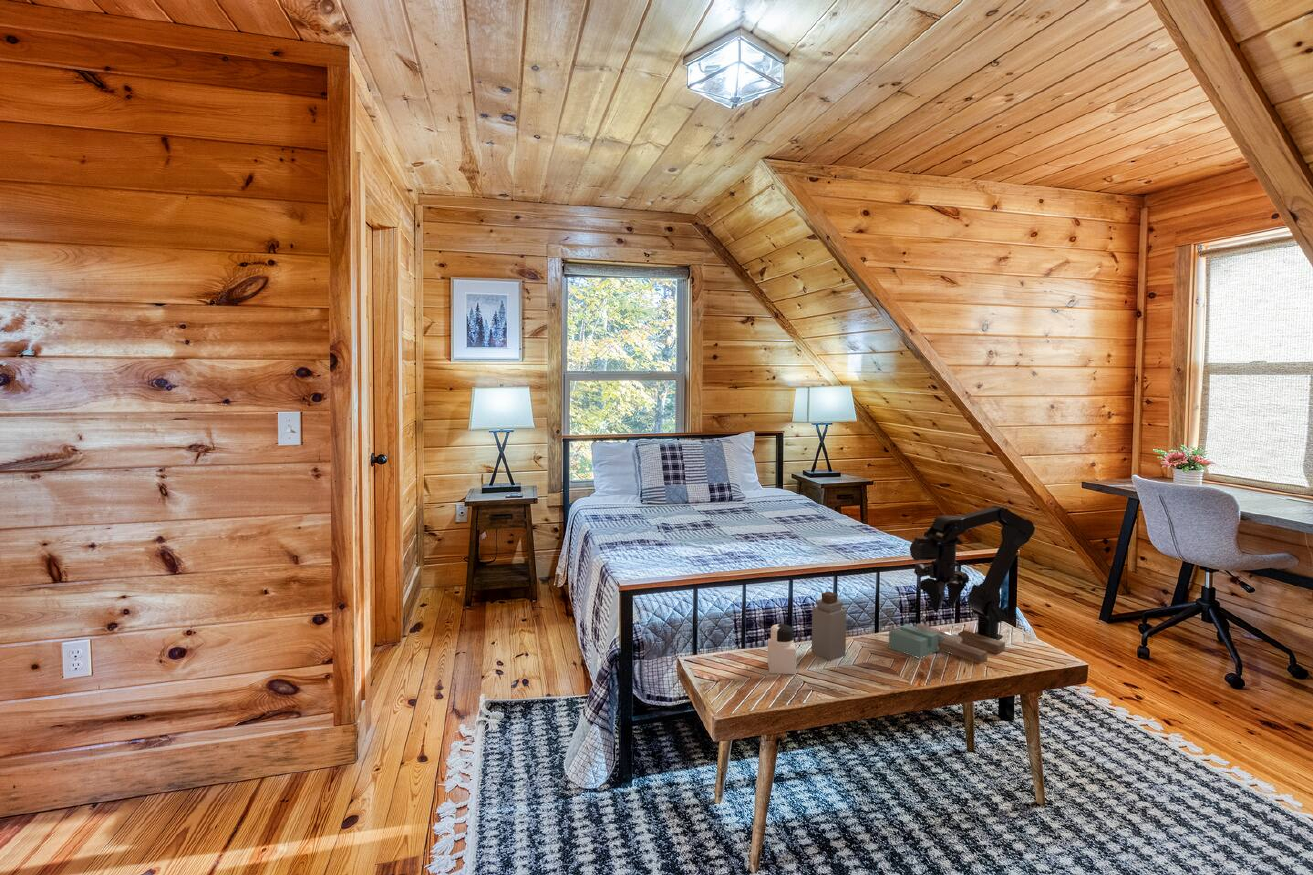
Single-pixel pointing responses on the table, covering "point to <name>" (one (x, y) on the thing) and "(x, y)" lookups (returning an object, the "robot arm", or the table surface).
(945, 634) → the steel shaft
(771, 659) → the medicine bottle
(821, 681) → the table surface
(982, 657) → the walnut beams
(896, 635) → the v-block
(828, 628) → the perfume bottle
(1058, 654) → the table surface
